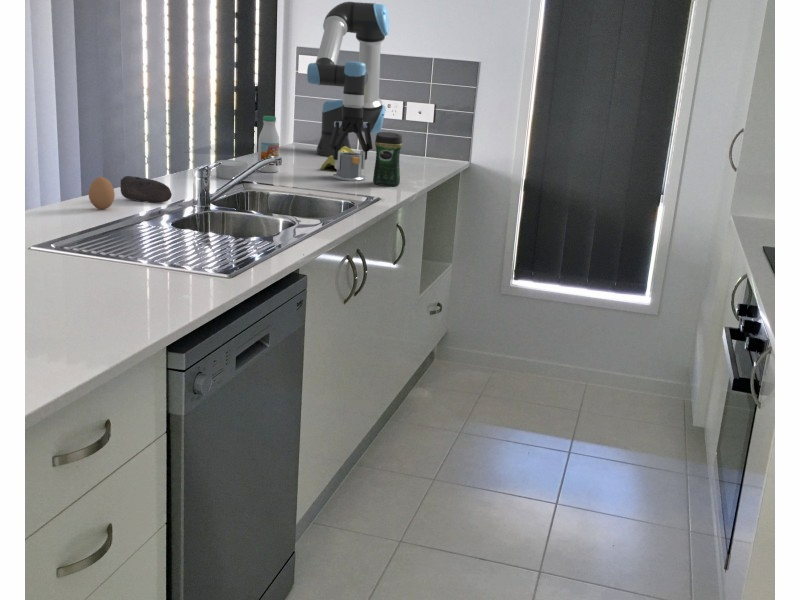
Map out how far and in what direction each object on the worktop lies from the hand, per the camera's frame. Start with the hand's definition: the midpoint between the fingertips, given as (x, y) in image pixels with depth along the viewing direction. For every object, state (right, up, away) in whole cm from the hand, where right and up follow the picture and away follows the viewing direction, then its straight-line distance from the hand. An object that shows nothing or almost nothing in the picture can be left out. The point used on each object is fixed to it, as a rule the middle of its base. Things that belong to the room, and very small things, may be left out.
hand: (349, 168), depth 312 cm
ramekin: (-40, -6, -15) cm, 43 cm away
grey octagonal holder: (0, -3, 0) cm, 3 cm away
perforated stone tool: (-56, -20, -63) cm, 86 cm away
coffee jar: (+13, -7, -5) cm, 16 cm away
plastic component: (-4, +3, +23) cm, 24 cm away
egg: (-64, -23, -77) cm, 102 cm away
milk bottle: (-30, -1, +3) cm, 31 cm away
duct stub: (0, -3, +1) cm, 4 cm away
